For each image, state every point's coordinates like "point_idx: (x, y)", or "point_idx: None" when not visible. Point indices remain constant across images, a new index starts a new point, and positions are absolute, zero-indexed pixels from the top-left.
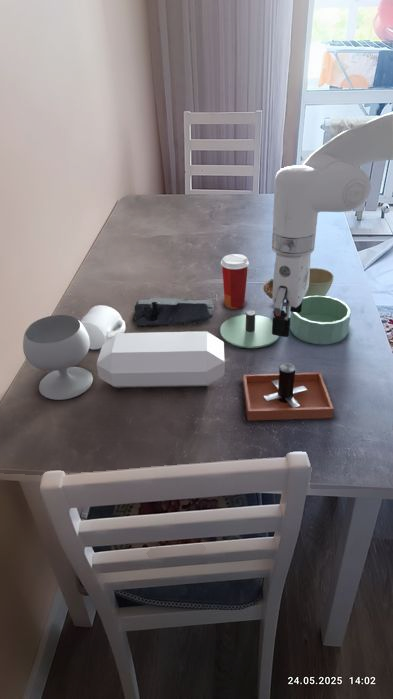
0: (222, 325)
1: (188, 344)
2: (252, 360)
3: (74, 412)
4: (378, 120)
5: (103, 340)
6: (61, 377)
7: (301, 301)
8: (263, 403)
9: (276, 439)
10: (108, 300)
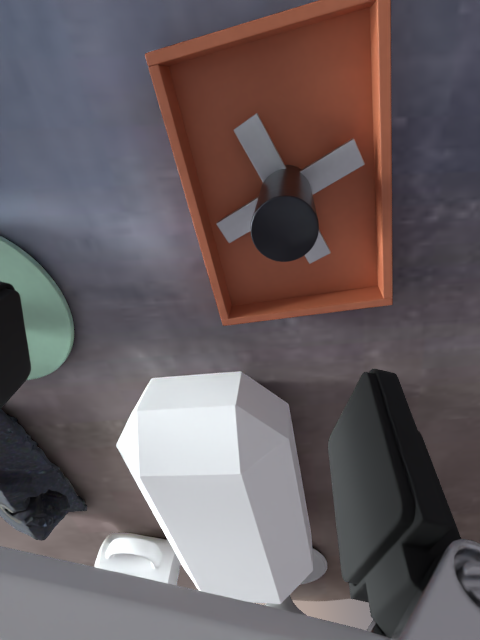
0: None
1: (219, 507)
2: (116, 291)
3: None
4: None
5: (173, 557)
6: None
7: (255, 631)
8: None
9: (473, 206)
10: (25, 542)
